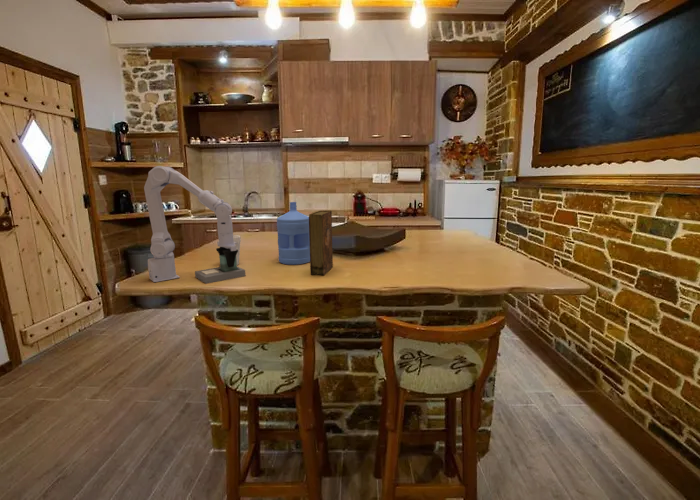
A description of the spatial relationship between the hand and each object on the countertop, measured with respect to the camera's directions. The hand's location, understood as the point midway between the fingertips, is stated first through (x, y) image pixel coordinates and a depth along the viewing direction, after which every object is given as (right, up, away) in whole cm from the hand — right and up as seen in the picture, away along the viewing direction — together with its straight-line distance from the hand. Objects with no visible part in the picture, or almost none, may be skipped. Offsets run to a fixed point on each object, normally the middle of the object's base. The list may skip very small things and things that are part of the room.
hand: (228, 265), depth 147 cm
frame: (-3, -4, -1) cm, 5 cm away
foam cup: (-5, 0, +19) cm, 19 cm away
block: (0, -2, 0) cm, 2 cm away
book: (+38, -3, +6) cm, 39 cm away
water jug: (+24, +1, +24) cm, 34 cm away
